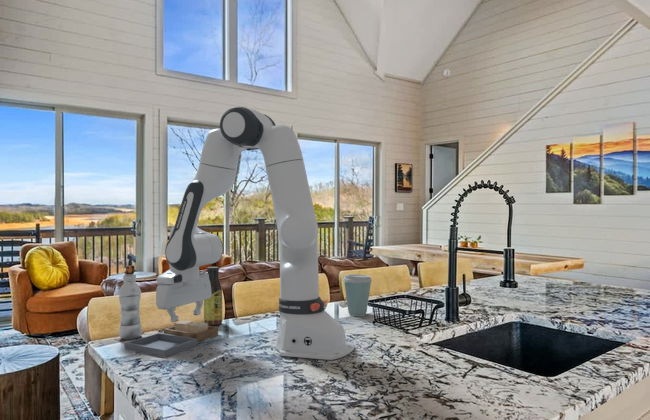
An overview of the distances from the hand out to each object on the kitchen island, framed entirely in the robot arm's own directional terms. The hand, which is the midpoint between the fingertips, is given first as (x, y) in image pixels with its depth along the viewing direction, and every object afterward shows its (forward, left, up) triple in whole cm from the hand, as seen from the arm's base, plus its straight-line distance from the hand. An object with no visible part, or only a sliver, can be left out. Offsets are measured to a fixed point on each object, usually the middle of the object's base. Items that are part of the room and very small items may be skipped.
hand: (186, 318), depth 145 cm
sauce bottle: (+3, -16, -6) cm, 17 cm away
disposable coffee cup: (-37, -50, -6) cm, 62 cm away
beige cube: (0, +1, -5) cm, 5 cm away
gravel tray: (-4, +13, -6) cm, 15 cm away
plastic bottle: (+13, +10, -6) cm, 18 cm away
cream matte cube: (-6, +1, -5) cm, 8 cm away
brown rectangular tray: (-3, +1, -6) cm, 6 cm away
